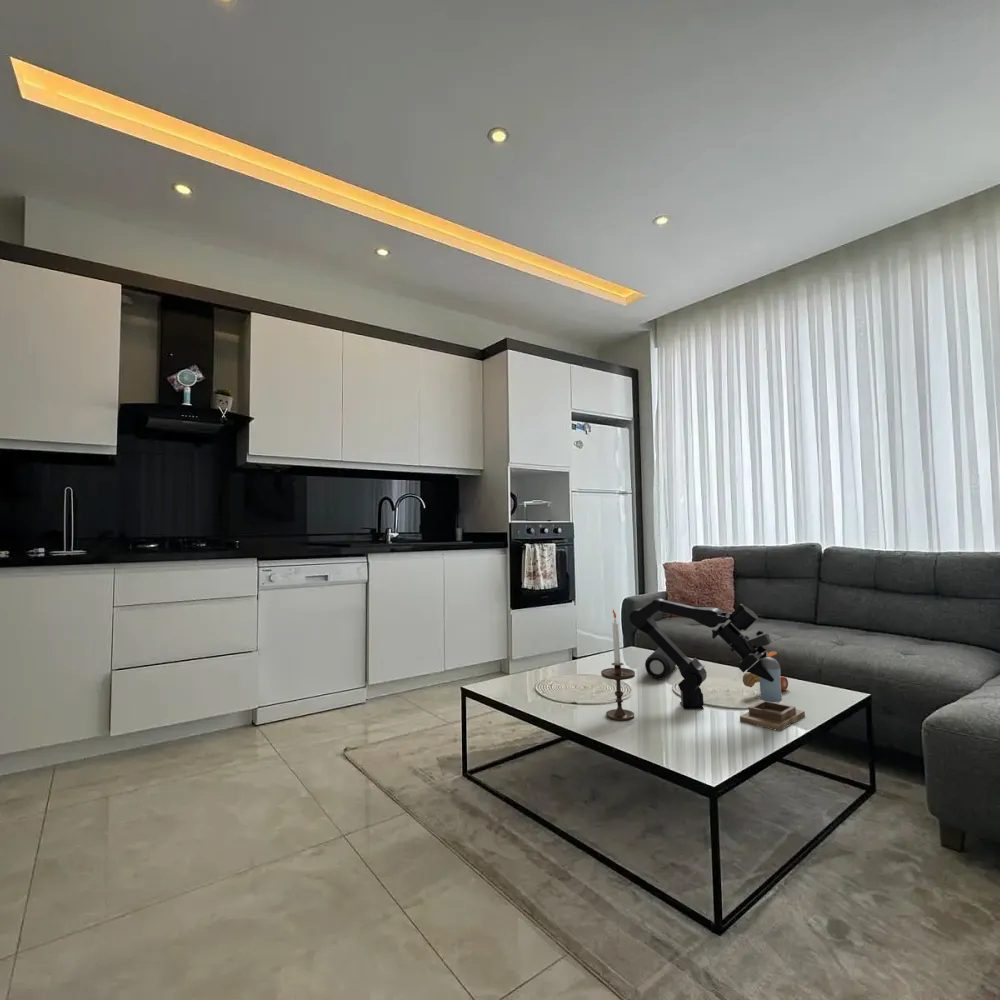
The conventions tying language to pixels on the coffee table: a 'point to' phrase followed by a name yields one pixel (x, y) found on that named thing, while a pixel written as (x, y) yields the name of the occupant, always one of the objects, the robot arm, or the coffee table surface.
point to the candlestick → (618, 679)
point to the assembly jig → (771, 715)
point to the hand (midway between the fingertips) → (774, 678)
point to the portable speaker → (659, 664)
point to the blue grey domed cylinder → (771, 689)
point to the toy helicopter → (751, 679)
